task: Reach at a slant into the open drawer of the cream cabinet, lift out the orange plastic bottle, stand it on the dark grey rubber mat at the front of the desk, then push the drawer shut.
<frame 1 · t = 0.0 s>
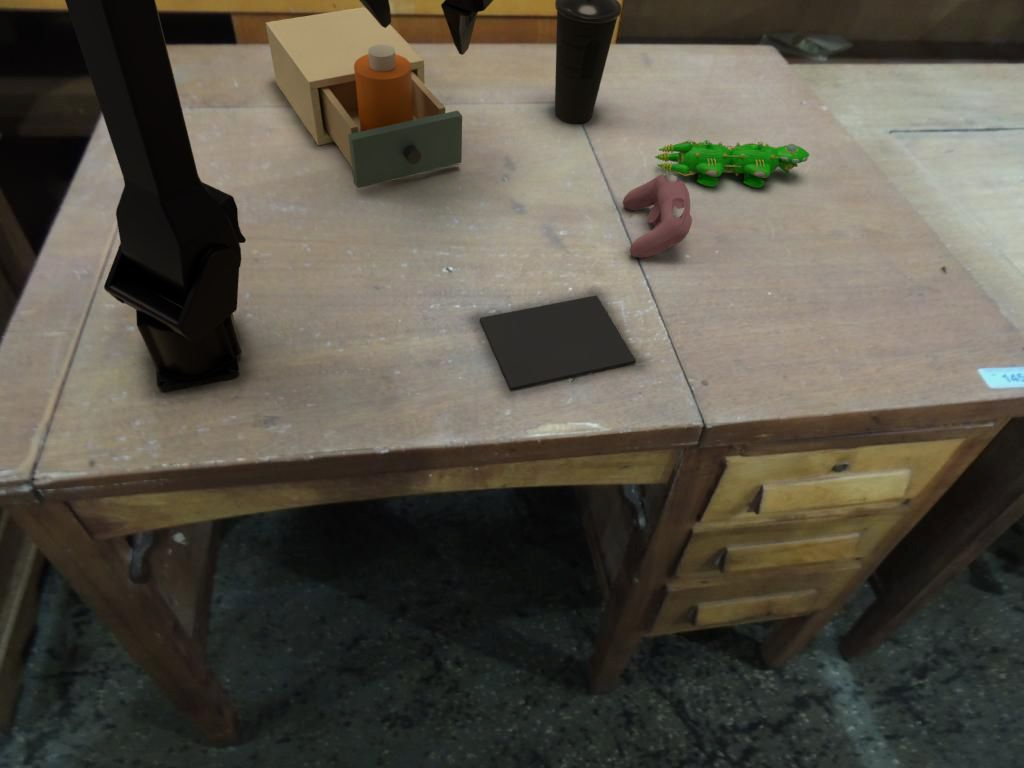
hand: (424, 38, 73), 15 cm above the table, tool pointing down, fingers open, 9 cm apart
orange bottle: (387, 136, 85), point 2 cm above the table, touching drawer
cabinet: (349, 102, 94), on the table
mat: (556, 341, 68), on the table
drinking cup: (573, 115, 96), on the table
drawer: (386, 121, 84), point 4 cm above the table, slide at 10.0 cm, touching orange bottle
video game controller: (651, 234, 80), on the table
crocodile figurine: (726, 175, 89), on the table
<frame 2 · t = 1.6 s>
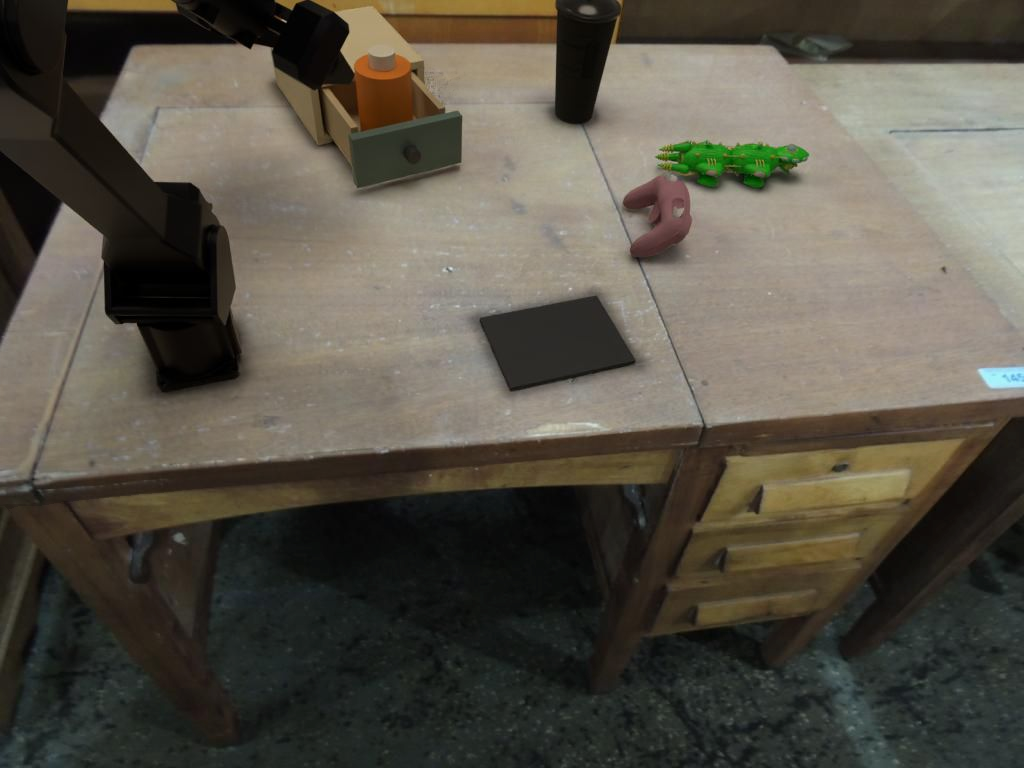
hand: (320, 61, 73), 13 cm above the table, tool tilted 45°, fingers open, 9 cm apart
nothing on the table moved.
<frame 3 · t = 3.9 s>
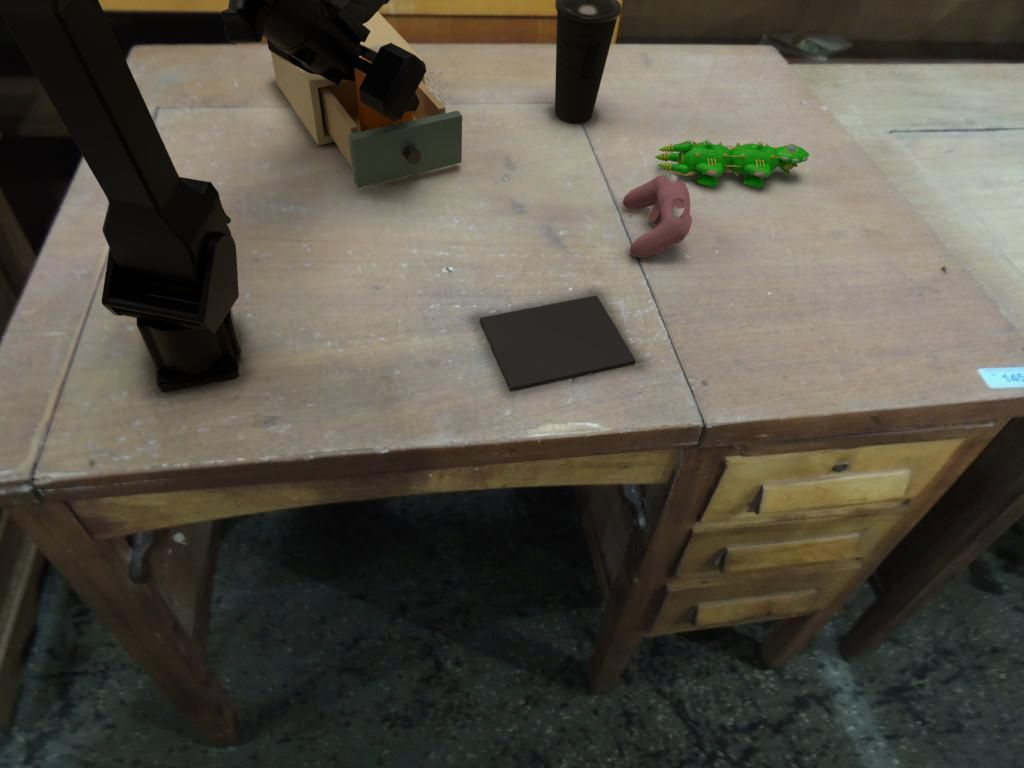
hand: (390, 91, 82), 7 cm above the table, tool tilted 45°, fingers open, 8 cm apart
nothing on the table moved.
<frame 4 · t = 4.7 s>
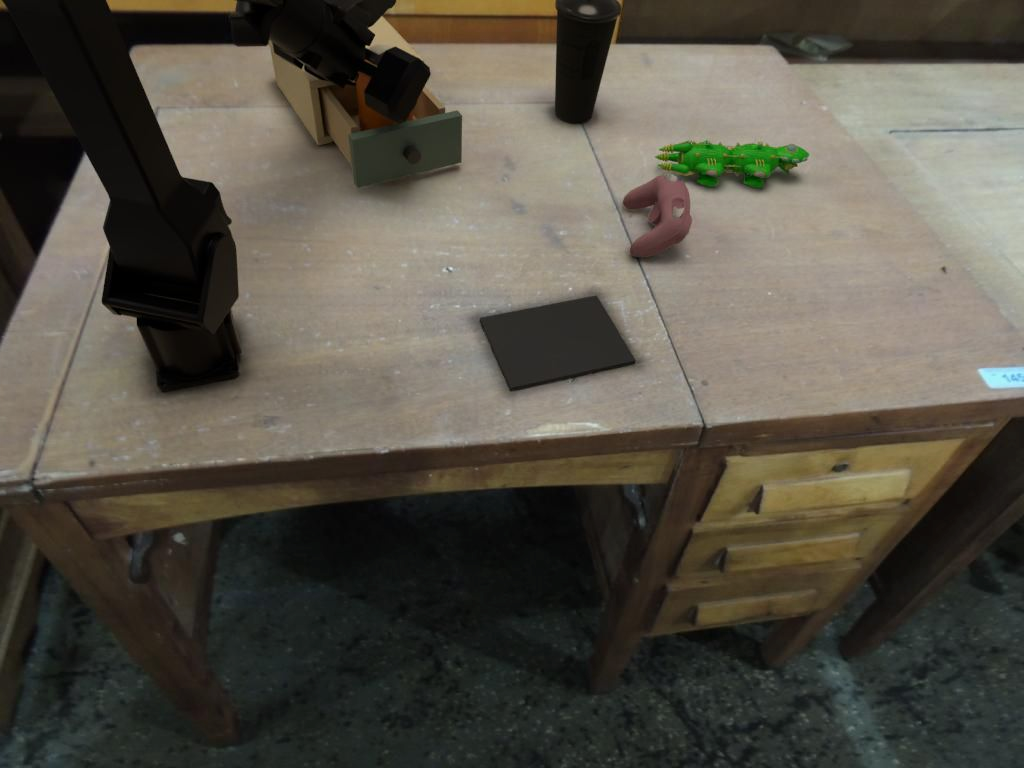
hand: (394, 94, 83), 7 cm above the table, tool tilted 45°, fingers closed on orange bottle, 6 cm apart
orange bottle: (387, 136, 85), point 2 cm above the table, touching drawer, gripper
everything else where it was.
when the fingers open (5 cm above the table, at t = 15.4 s): orange bottle stays where it is, resting on mat.
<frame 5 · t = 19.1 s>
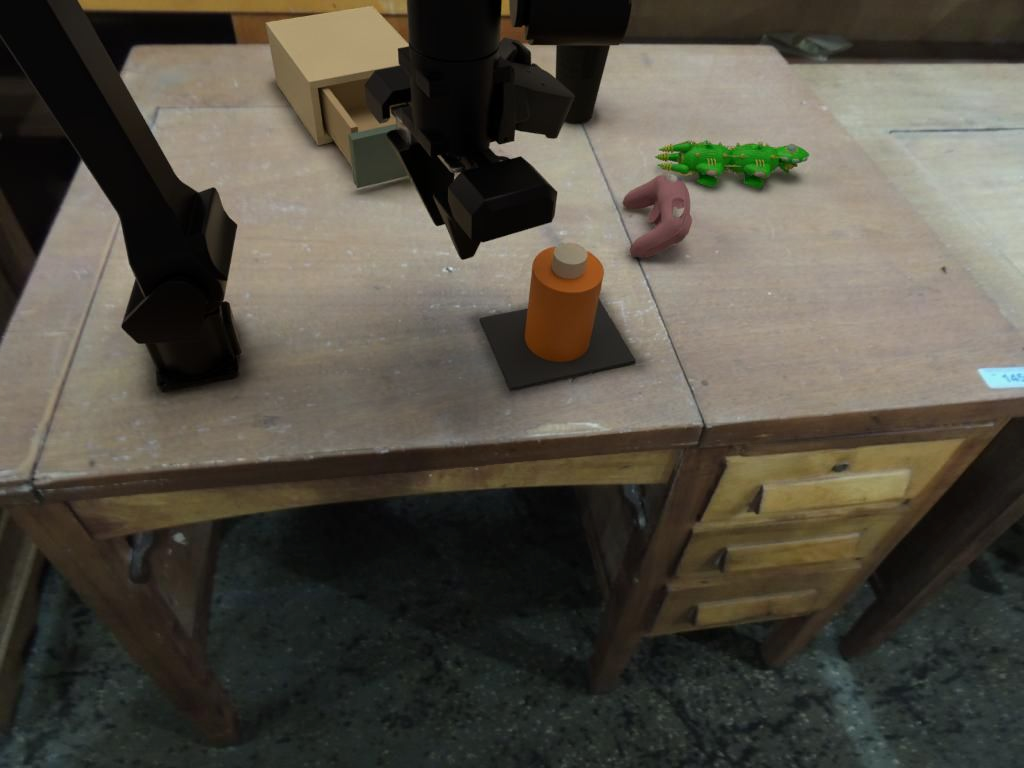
hand: (453, 240, 58), 12 cm above the table, tool pointing down, fingers open, 4 cm apart
orange bottle: (557, 338, 68), resting on mat
drawer: (385, 121, 84), point 4 cm above the table, slide at 10.0 cm
everything else where it was.
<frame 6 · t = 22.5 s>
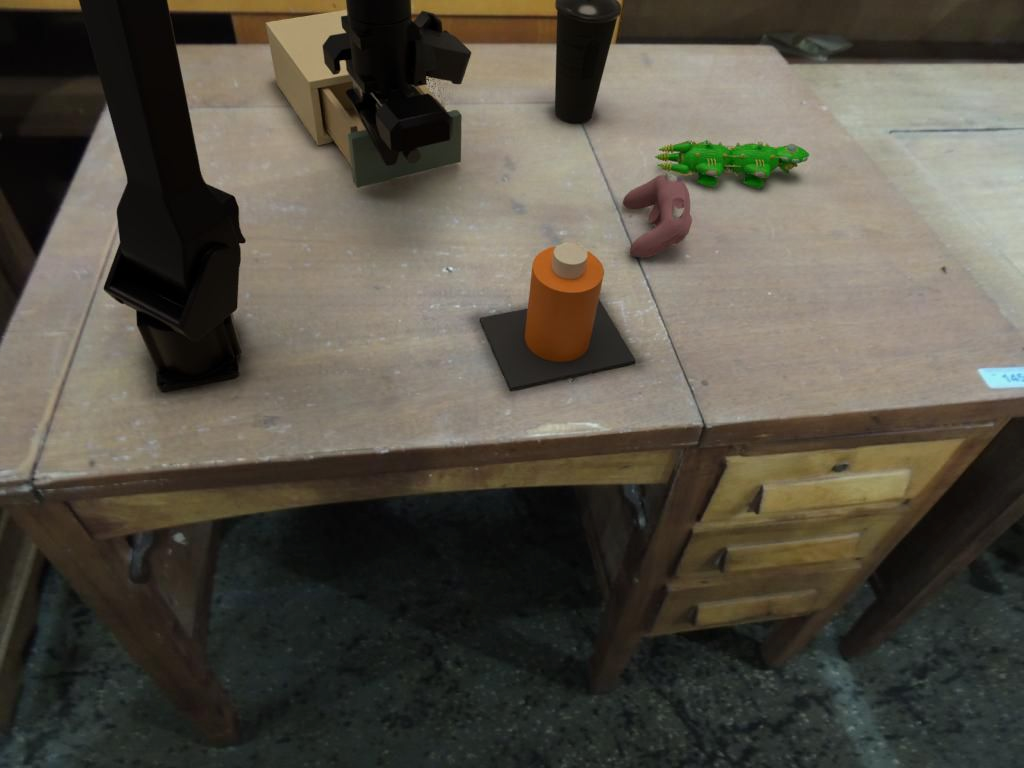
hand: (390, 163, 78), 4 cm above the table, tool pointing down, fingers closed
drawer: (385, 121, 84), point 4 cm above the table, slide at 9.8 cm, touching gripper
everything else where it was.
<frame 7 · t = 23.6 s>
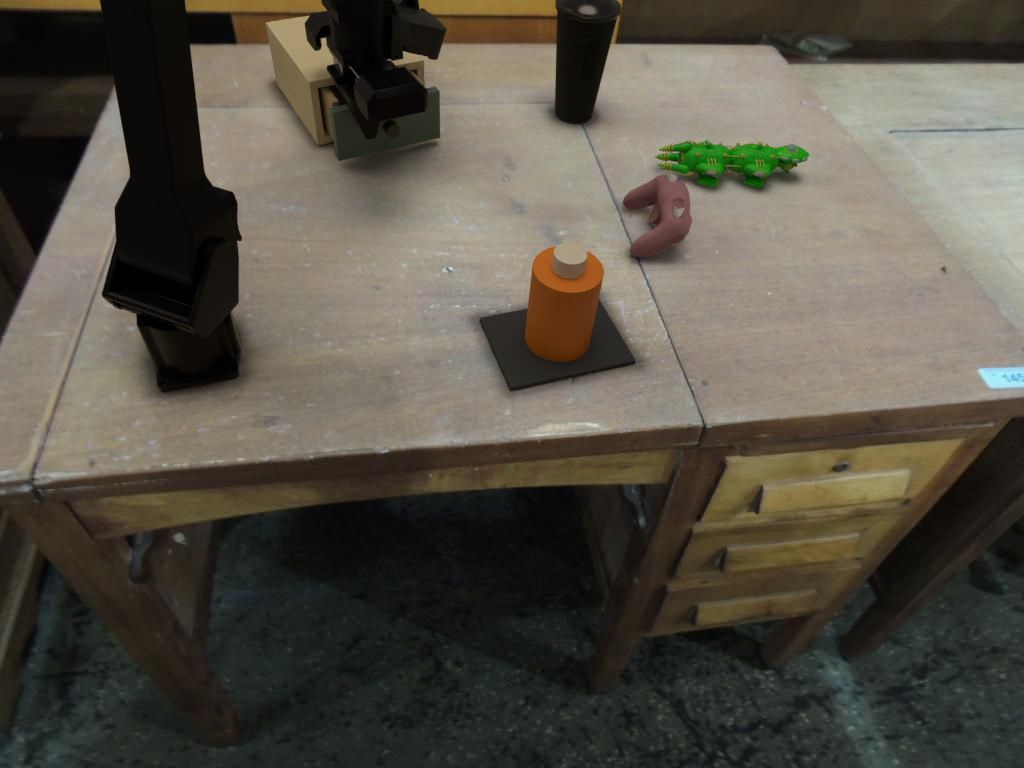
hand: (370, 137, 81), 4 cm above the table, tool pointing down, fingers closed
drawer: (367, 98, 87), point 4 cm above the table, slide at 4.3 cm, touching gripper
everything else where it was.
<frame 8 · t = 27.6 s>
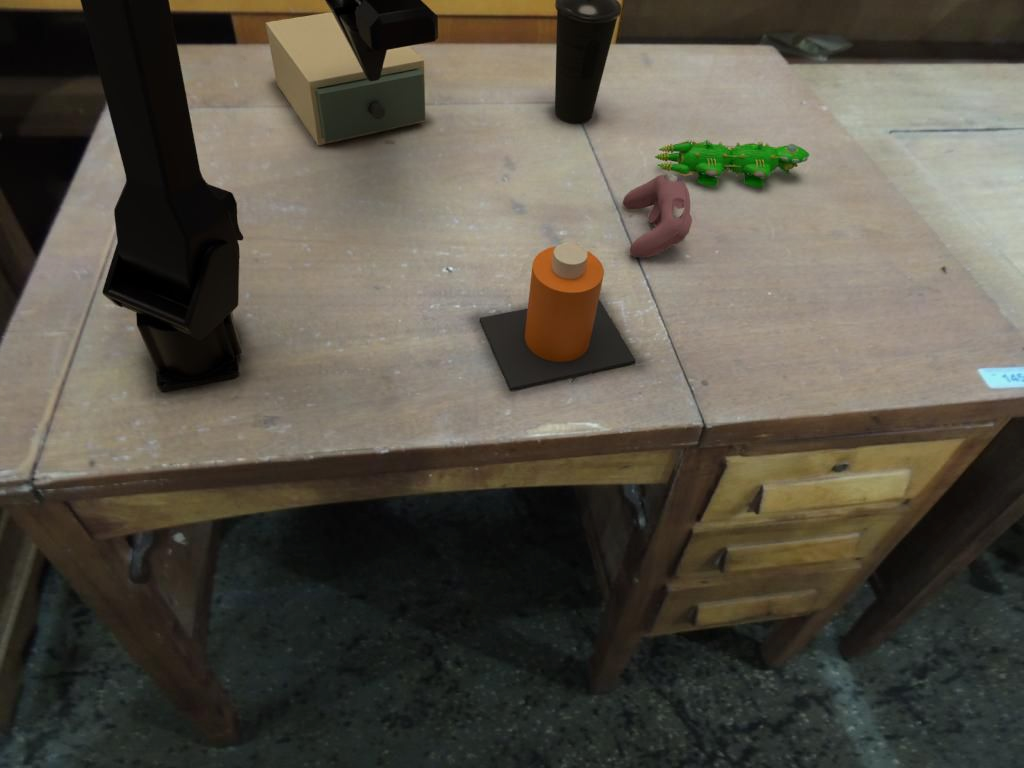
hand: (373, 79, 74), 12 cm above the table, tool pointing down, fingers closed
drawer: (353, 81, 90), point 4 cm above the table, slide at 0.0 cm
everything else where it was.
at the end: orange bottle inside the target area on the mat (0.1 cm from its centre), point 0.4 cm above the mat's base; orange bottle tilted 0°; drawer slide at 0.0 cm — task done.
